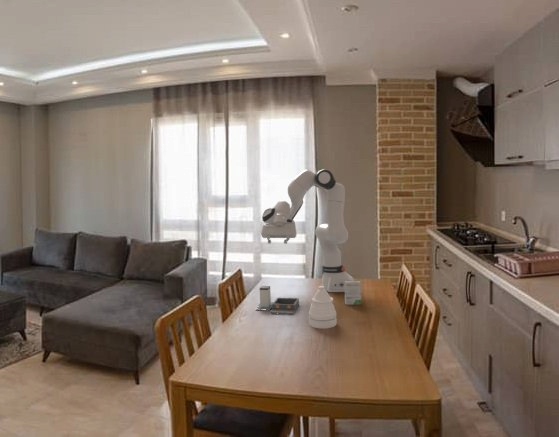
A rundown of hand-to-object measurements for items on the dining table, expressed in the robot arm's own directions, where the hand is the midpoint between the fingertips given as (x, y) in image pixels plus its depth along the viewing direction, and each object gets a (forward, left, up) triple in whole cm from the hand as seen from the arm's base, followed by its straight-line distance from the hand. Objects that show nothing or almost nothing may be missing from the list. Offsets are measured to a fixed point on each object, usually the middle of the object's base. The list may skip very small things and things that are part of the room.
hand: (277, 243), depth 238 cm
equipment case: (-8, +21, -31) cm, 38 cm away
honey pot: (-30, +39, -32) cm, 59 cm away
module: (+3, +18, -30) cm, 36 cm away
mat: (+3, +18, -31) cm, 36 cm away
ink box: (-42, +6, -32) cm, 53 cm away
